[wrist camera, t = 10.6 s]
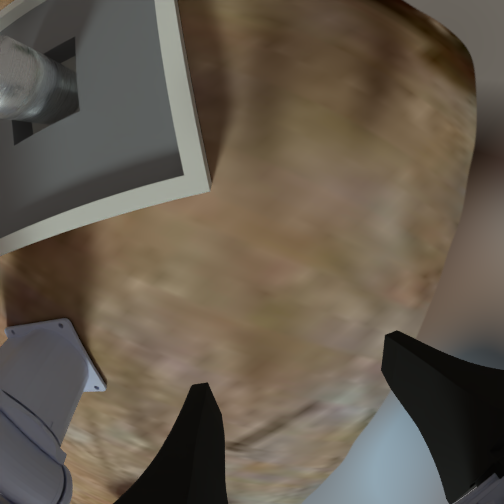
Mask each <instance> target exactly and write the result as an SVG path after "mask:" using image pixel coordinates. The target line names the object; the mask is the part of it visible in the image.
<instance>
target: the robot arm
mask: <svg viewBox="0 0 504 504" xmlns="http://www.w3.org/2000/svg"><path fill="white" fill-rule="evenodd" d="M61 324H62V325H63V326H62V325H61ZM5 334H6V335H7V337H8V339H7V340H6V341H5V342H4V344H3V345H2V346H1V347H0V493H1V494H0V504H69V503H70V501H71V497H72V477H71V474H70V471H69V470H68V468H67V467H66V466H65V465H64V461H65V458H66V453H65V452H63V451H62V449H61V448H60V447H61V444H62V441H63V439H64V436H65V434H66V431H67V429H68V426H69V424H70V421H71V419H72V416H73V414H74V412H75V409H76V407H77V405H78V402H79V400H80V398H81V395H82V393H83V392H88V391H105V390H106V388H107V386H106V384H105V383H104V381H103V379H102V378H101V376H100V375H99V373H98V371H97V370H96V368H95V366H94V365H93V363H92V361H91V359H90V358H89V356H88V354H87V352H86V350H85V349H84V347H83V345H82V343H81V341H80V339H79V337H78V335H77V334H76V332H75V330H74V328H73V326H72V323H71V322H70V320H69V319H67V318H62V319H55V320H49V321H43V322H37V323H30V324H24V325H17V326H10V327H6V328H5ZM381 371H382V373H383V375H384V377H385V379H386V381H387V383H388V385H389V386H390V388H391V390H392V391H393V393H394V394H395V396H396V397H397V398H398V400H399V401H400V403H401V404H402V405H403V407H404V408H405V410H406V411H407V412H408V414H409V415H410V416H411V418H412V419H413V421H414V422H415V424H416V425H417V427H418V428H419V430H420V432H421V434H422V436H423V438H424V440H425V442H426V444H427V446H428V448H429V450H430V452H431V455H432V457H433V459H434V462H435V464H436V467H437V470H438V472H439V475H440V478H441V481H442V485H443V488H444V491H445V495H446V499H447V501H448V502H449V504H452V503H454V502H456V501H457V500H459V499H460V498H462V497H463V496H464V495H466V494H467V493H468V492H470V491H471V490H472V489H474V488H475V487H476V486H477V488H476V489H474V490H473V491H472V492H470V493H469V494H468V495H466V496H465V497H464V498H462V499H461V500H459V501H458V502H456V503H455V504H504V370H500V369H495V368H489V367H485V366H480V365H477V364H474V363H470V362H467V361H464V360H461V359H459V358H456V357H453V356H451V355H448V354H446V353H444V352H441V351H439V350H437V349H435V348H433V347H431V346H428V345H426V344H424V343H422V342H420V341H418V340H416V339H414V338H412V337H410V336H408V335H406V334H404V333H402V332H400V331H394V332H392V333H389V334H386V335H385V340H384V350H383V359H382V367H381ZM113 504H228V500H227V493H226V483H225V435H224V428H223V420H222V414H221V412H220V409H219V407H218V405H217V403H216V400H215V398H214V396H213V394H212V391H211V389H210V387H209V384H208V382H207V383H201V384H194V385H192V386H191V388H190V390H189V393H188V395H187V398H186V400H185V402H184V405H183V407H182V409H181V411H180V414H179V416H178V418H177V420H176V422H175V424H174V426H173V428H172V430H171V432H170V433H169V435H168V437H167V439H166V440H165V442H164V444H163V446H162V447H161V449H160V450H159V452H158V454H157V455H156V457H155V458H154V459H153V461H152V462H151V464H150V465H149V466H148V468H147V469H146V470H145V471H144V473H143V474H142V475H141V476H140V477H139V479H138V480H137V481H136V482H135V483H134V484H133V485H132V486H131V487H130V488H129V489H128V490H127V491H126V492H125V493H124V494H123V495H122V496H121V497H120V498H119V499H118V500H117V501H116V502H114V503H113Z"/></svg>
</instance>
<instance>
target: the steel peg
mask: <svg viewBox="0 0 504 504" xmlns="http://www.w3.org/2000/svg"><path fill="white" fill-rule="evenodd" d="M78 107H79V98H78V88H77V75H76V72H74V71H73V70H71V69H69V68H67V67H66V66H64V65H62V64H60V63H58V62H57V61H55V60H53V59H51V58H49V57H47V56H46V55H44V54H42V53H40V52H38V51H36V50H34V49H32V48H30V47H28V46H26V45H24V44H22V43H20V42H18V41H16V40H14V39H12V38H10V37H8V36H0V119H9V120H17V121H25V122H33V123H40V124H46V125H52V124H54V123H56V122H58V121H60V120H62V119H64V118H66V117H68V116H70V115H73V114H74V113H75V112H76V110H77V109H78Z"/></svg>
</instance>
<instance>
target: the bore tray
mask: <svg viewBox="0 0 504 504" xmlns="http://www.w3.org/2000/svg"><path fill="white" fill-rule="evenodd" d="M0 36H8V37H10V38H12V39H14V40H16V41H18V42H20V43H22V44H24V45H26V46H28V47H30V48H32V49H34V50H36V51H38V52H40V53H42V54H44V55H46V56H47V57H49V58H51V59H53V60H55V61H57V62H58V63H60V64H62V65H64V66H66V67H67V68H69V69H71V70H73V71H74V72H76V75H77V88H78V98H79V107H78V109H77V110H76V112H75V113H74V114H73V115H70V116H68V117H66V118H64V119H62V120H60V121H58V122H56V123H54V124H52V125H46V124H40V123H33V122H25V121H17V120H9V119H0V256H2V255H4V254H7V253H9V252H12V251H14V250H17V249H19V248H22V247H25V246H27V245H30V244H32V243H35V242H38V241H41V240H43V239H46V238H49V237H52V236H55V235H58V234H60V233H63V232H66V231H69V230H72V229H75V228H78V227H81V226H85V225H88V224H91V223H94V222H97V221H100V220H104V219H107V218H110V217H114V216H117V215H120V214H124V213H127V212H131V211H134V210H138V209H142V208H145V207H149V206H153V205H157V204H160V203H164V202H168V201H172V200H176V199H180V198H184V197H188V196H192V195H197V194H201V193H205V192H210V189H211V186H212V181H211V177H210V172H209V167H208V162H207V158H206V153H205V148H204V143H203V138H202V133H201V128H200V123H199V118H198V113H197V108H196V103H195V98H194V92H193V87H192V82H191V76H190V71H189V65H188V60H187V54H186V49H185V43H184V37H183V31H182V25H181V19H180V13H179V7H178V1H177V0H14V1H13V2H12V3H10V4H9V5H8V6H6V7H5V8H4V9H2V10H1V11H0Z"/></svg>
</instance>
